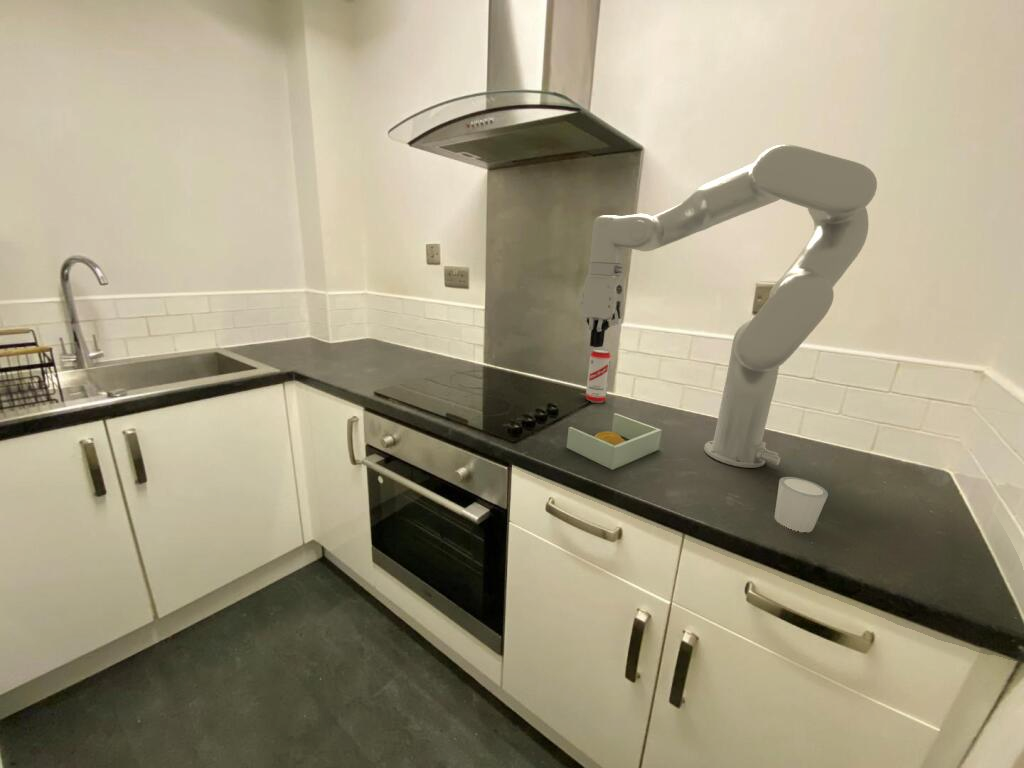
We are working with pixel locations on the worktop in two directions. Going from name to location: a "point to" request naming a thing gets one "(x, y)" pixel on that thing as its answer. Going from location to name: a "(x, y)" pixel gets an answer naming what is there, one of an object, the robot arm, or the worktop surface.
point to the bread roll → (610, 437)
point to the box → (610, 456)
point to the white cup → (799, 503)
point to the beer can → (598, 375)
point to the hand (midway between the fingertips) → (596, 346)
